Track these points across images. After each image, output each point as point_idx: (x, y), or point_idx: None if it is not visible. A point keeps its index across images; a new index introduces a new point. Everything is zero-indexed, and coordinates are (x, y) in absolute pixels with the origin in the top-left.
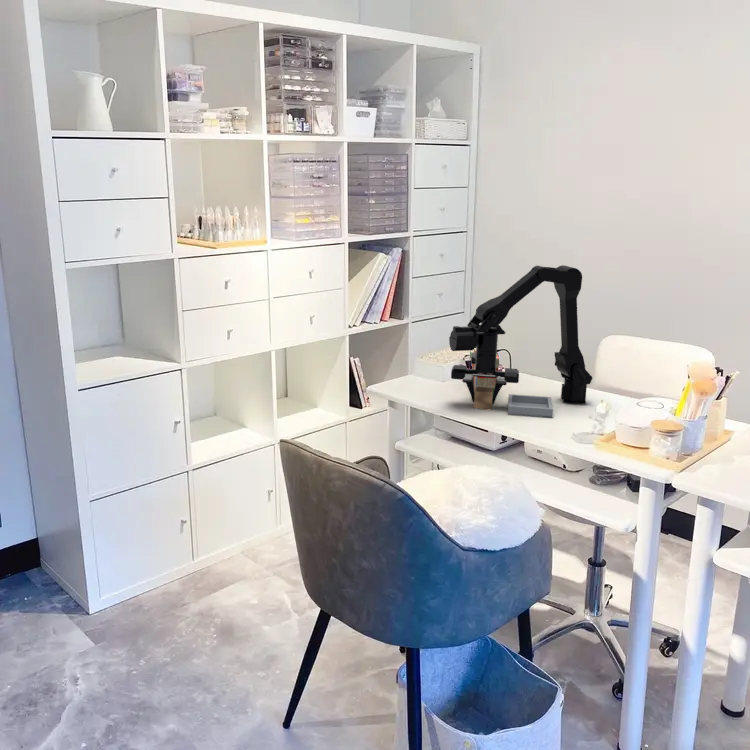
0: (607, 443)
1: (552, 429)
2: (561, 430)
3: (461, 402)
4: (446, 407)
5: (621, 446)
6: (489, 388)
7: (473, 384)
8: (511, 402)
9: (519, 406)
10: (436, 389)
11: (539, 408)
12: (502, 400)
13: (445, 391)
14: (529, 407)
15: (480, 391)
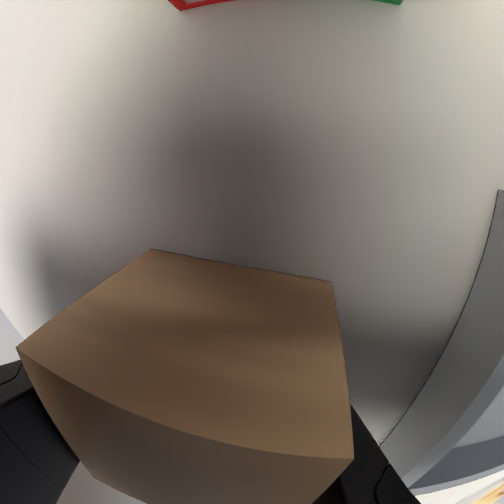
0: (481, 501)
1: (440, 498)
2: (457, 494)
3: (63, 226)
4: (35, 329)
5: (489, 499)
6: (255, 477)
7: (31, 486)
8: (437, 460)
9: (434, 488)
10: (7, 9)
11: (499, 470)
12: (462, 115)
13: (25, 12)
14: (470, 480)
15: (140, 496)
